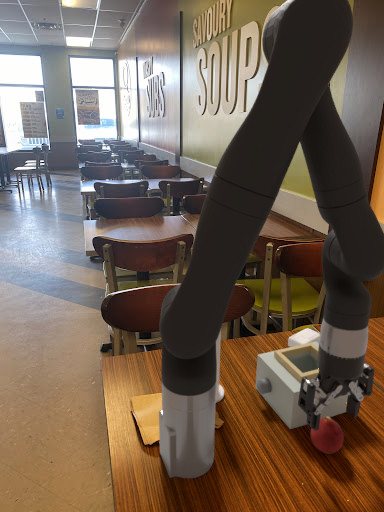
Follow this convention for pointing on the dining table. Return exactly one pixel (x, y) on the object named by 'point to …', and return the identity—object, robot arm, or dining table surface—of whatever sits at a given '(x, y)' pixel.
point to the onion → (327, 436)
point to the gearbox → (292, 382)
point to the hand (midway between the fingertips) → (332, 420)
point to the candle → (218, 387)
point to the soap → (303, 337)
